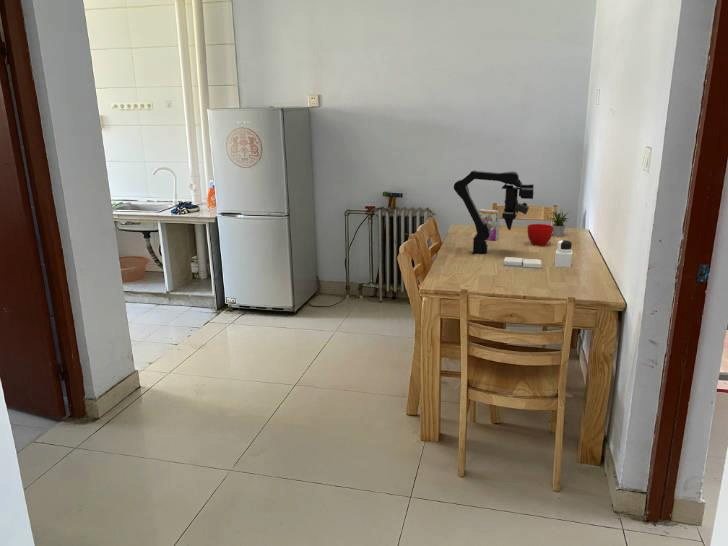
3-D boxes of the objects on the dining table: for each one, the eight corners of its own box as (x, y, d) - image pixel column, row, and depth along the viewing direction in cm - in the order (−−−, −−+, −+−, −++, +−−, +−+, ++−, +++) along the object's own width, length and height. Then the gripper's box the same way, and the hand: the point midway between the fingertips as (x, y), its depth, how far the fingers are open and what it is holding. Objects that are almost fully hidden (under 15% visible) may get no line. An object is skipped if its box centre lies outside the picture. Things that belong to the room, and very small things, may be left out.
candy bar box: (476, 239, 321) (477, 210, 317) (479, 237, 325) (481, 208, 321) (495, 241, 315) (497, 211, 311) (498, 239, 319) (500, 210, 315)
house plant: (539, 236, 326) (541, 208, 321) (546, 232, 337) (549, 204, 332) (564, 239, 318) (567, 210, 313) (571, 234, 329) (574, 206, 324)
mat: (503, 267, 263) (503, 266, 263) (506, 259, 278) (506, 258, 278) (539, 270, 258) (539, 269, 258) (540, 261, 273) (540, 260, 273)
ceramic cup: (561, 244, 307) (562, 225, 304) (540, 248, 298) (542, 229, 295) (541, 239, 317) (543, 222, 315) (521, 244, 308) (522, 225, 305)
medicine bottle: (570, 265, 266) (573, 239, 263) (570, 268, 260) (573, 243, 257) (554, 263, 269) (556, 238, 265) (554, 267, 262) (556, 242, 259)
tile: (505, 261, 272) (503, 265, 265) (505, 257, 271) (503, 261, 264) (522, 262, 270) (521, 266, 262) (522, 258, 269) (521, 262, 262)
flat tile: (523, 267, 261) (523, 263, 260) (522, 262, 268) (523, 258, 268) (541, 268, 259) (541, 264, 258) (540, 263, 266) (540, 259, 266)
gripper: (527, 201, 266) (525, 234, 270) (529, 195, 283) (527, 226, 287) (502, 200, 270) (501, 233, 274) (506, 195, 287) (504, 225, 291)
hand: (509, 229), depth 281 cm, fingers closed
